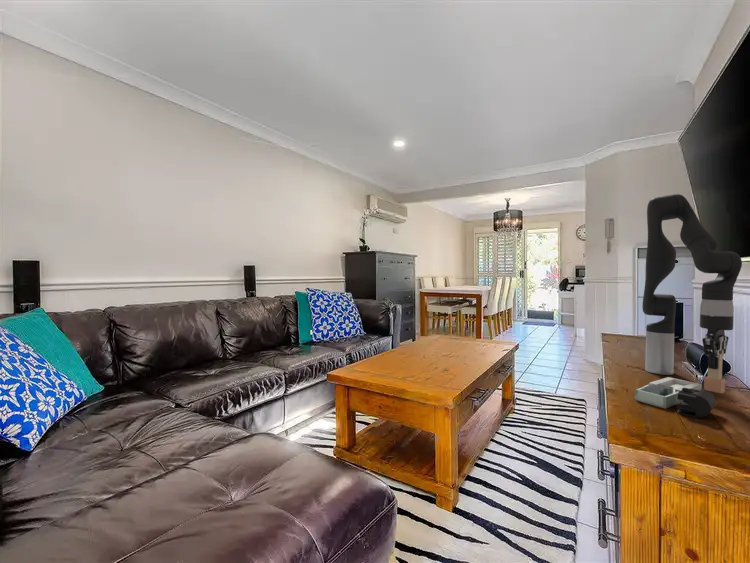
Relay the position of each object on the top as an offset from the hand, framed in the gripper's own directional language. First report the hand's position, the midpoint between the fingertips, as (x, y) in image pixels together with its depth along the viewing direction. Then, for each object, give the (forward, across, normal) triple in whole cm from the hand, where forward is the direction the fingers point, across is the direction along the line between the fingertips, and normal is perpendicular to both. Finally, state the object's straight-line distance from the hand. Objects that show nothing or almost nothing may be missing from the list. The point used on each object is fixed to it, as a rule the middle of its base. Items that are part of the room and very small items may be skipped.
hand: (714, 367), depth 108 cm
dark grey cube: (+9, +13, -10) cm, 19 cm away
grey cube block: (+11, +11, -9) cm, 18 cm away
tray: (+11, +14, -9) cm, 21 cm away
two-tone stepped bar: (+7, 0, 0) cm, 7 cm away
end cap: (+12, +16, +1) cm, 20 cm away
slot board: (+11, +1, -9) cm, 15 cm away
